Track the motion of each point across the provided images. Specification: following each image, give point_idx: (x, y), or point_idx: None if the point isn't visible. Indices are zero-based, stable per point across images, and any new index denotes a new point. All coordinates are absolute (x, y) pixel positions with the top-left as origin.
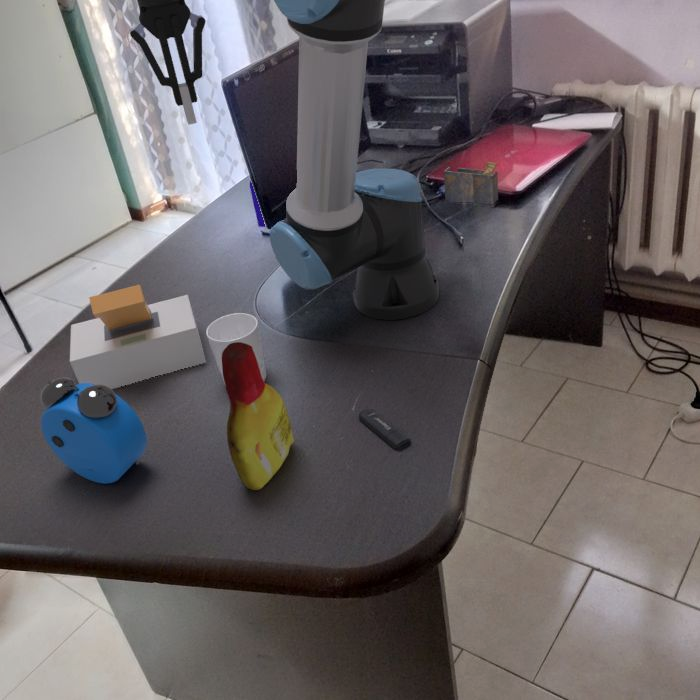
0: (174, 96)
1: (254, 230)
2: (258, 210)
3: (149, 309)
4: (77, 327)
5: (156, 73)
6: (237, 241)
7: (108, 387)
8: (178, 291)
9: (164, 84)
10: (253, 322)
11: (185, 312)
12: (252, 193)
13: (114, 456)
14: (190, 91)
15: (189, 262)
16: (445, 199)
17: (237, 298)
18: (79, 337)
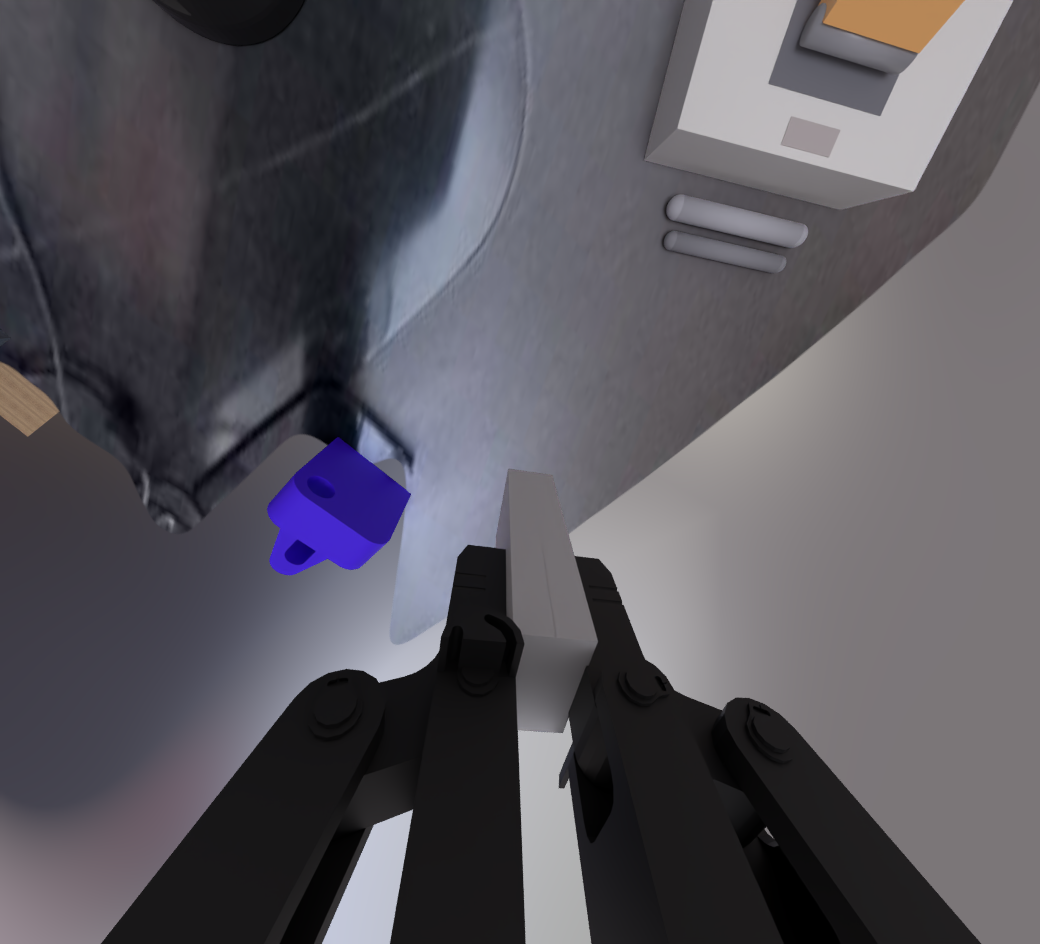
0: (624, 609)
1: (421, 484)
2: (397, 505)
3: (823, 15)
4: (914, 164)
5: (925, 899)
6: (460, 464)
7: None
8: (611, 349)
9: (750, 709)
10: None
11: (725, 13)
12: (392, 528)
13: None
14: (491, 607)
15: (556, 444)
16: (1, 338)
17: (535, 232)
18: (940, 102)
